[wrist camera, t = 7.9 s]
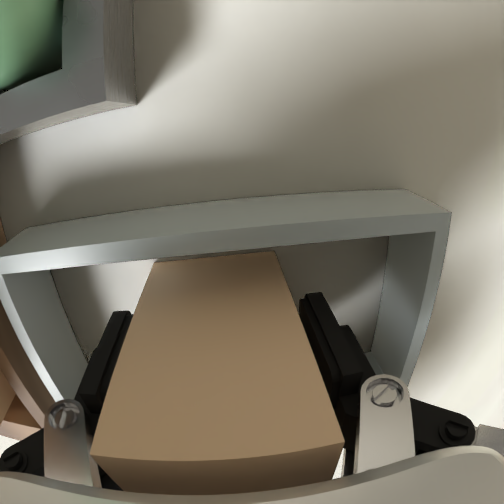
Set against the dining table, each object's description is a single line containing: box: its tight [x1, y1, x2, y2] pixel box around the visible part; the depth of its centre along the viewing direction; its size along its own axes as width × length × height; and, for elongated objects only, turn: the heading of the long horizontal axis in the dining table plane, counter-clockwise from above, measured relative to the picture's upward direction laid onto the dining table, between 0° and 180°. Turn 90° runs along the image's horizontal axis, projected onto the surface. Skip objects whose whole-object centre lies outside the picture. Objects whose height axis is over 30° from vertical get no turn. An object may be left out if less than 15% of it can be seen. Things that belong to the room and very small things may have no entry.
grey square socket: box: [0, 0, 137, 144], centre depth 6 cm, size 7×7×3 cm
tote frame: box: [0, 189, 452, 402], centre depth 11 cm, size 15×9×3 cm, turn 94°
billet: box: [90, 251, 345, 495], centre depth 9 cm, size 4×4×8 cm
